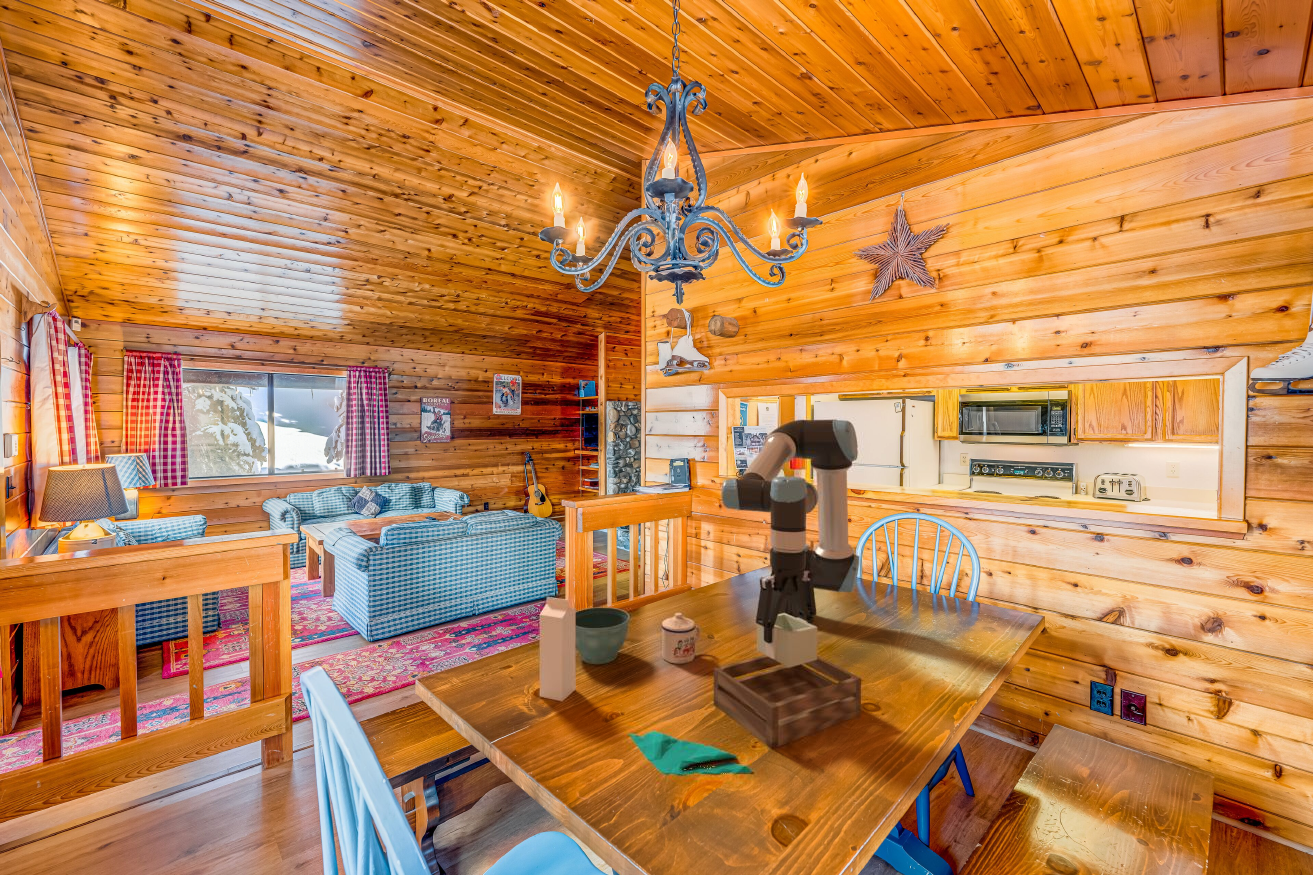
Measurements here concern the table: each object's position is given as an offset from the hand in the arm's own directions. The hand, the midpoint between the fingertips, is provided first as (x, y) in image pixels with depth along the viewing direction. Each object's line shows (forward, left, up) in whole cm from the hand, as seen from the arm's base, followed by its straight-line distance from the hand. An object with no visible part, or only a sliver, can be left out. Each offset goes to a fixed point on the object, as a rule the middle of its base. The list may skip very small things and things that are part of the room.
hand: (786, 652), depth 118 cm
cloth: (+28, +3, -14) cm, 31 cm away
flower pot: (+25, -44, -13) cm, 52 cm away
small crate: (0, 0, 0) cm, 0 cm away
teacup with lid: (+5, -34, -13) cm, 37 cm away
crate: (0, 0, -13) cm, 13 cm away
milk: (+41, -31, -13) cm, 53 cm away
